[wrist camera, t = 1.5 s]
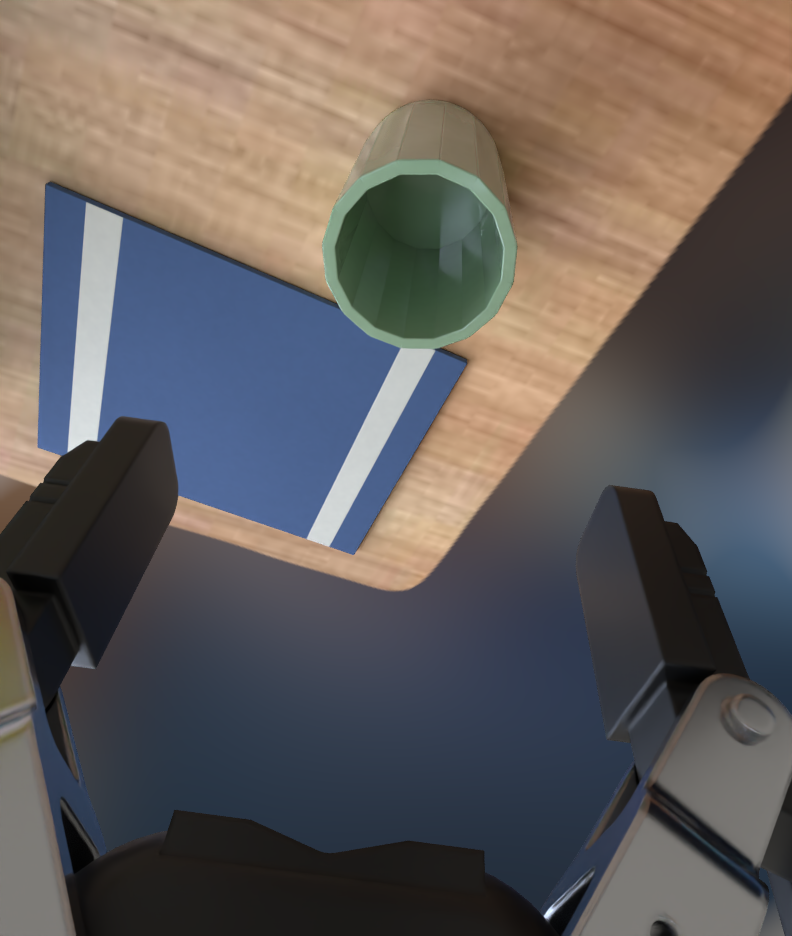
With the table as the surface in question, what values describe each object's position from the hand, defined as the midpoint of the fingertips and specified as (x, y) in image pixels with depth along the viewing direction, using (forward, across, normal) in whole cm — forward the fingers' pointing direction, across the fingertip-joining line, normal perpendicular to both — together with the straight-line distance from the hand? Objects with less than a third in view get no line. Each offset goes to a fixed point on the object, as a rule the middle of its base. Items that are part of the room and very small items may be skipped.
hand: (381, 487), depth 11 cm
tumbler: (+18, 0, 0) cm, 18 cm away
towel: (+18, +9, +12) cm, 23 cm away
